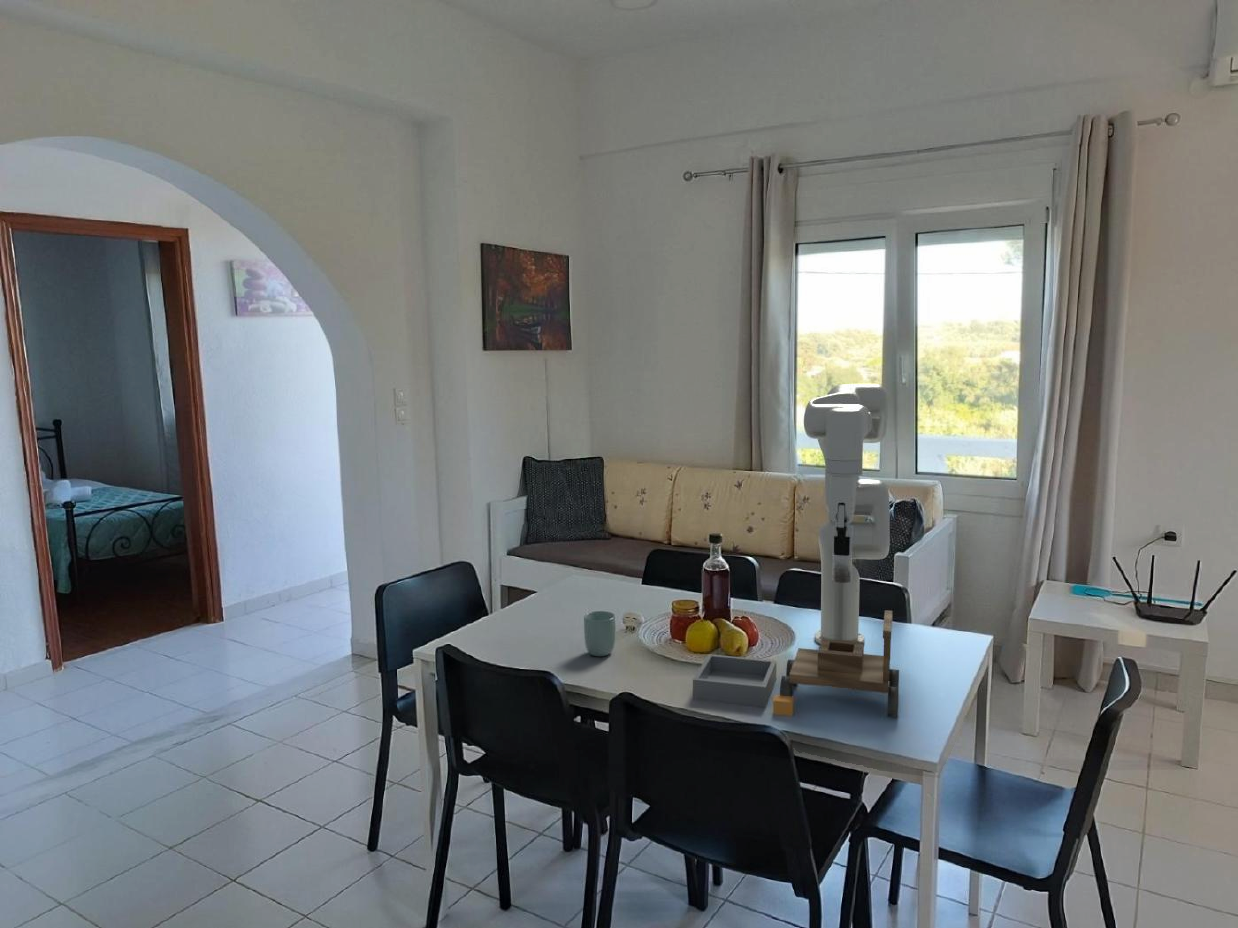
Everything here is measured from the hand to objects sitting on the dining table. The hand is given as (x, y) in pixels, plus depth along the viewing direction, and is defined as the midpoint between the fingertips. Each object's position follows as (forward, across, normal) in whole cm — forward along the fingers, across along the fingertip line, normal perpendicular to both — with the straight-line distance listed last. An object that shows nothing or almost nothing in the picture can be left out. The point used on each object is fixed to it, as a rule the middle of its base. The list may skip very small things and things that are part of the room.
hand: (842, 551), depth 187 cm
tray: (+33, 0, -23) cm, 40 cm away
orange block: (+33, +10, -11) cm, 36 cm away
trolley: (+33, 0, 0) cm, 33 cm away
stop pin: (+6, 0, 0) cm, 6 cm away
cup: (+33, -13, -60) cm, 70 cm away
